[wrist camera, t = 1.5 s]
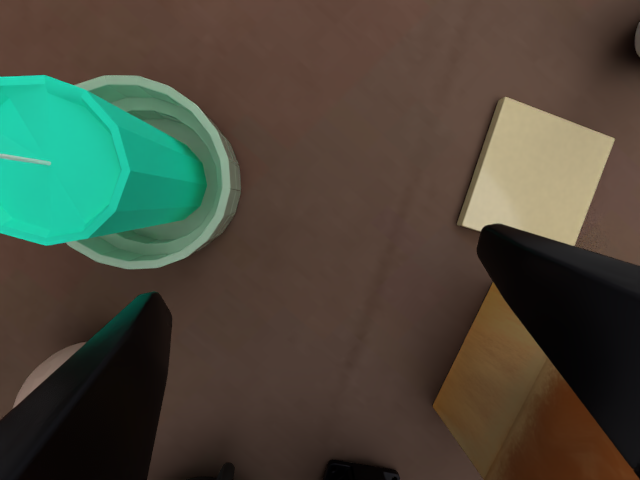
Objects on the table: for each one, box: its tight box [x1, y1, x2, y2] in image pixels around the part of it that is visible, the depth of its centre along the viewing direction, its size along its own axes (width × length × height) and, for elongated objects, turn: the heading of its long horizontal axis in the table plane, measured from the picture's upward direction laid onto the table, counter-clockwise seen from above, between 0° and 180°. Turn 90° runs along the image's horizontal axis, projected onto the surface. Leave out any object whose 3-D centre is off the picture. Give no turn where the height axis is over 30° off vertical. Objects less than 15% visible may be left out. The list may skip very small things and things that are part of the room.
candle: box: [0, 75, 207, 246], centre depth 15 cm, size 6×6×12 cm
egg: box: [13, 342, 86, 408], centre depth 19 cm, size 5×5×7 cm
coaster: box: [457, 97, 615, 246], centre depth 24 cm, size 10×10×1 cm
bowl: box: [65, 75, 241, 269], centre depth 19 cm, size 11×11×4 cm
